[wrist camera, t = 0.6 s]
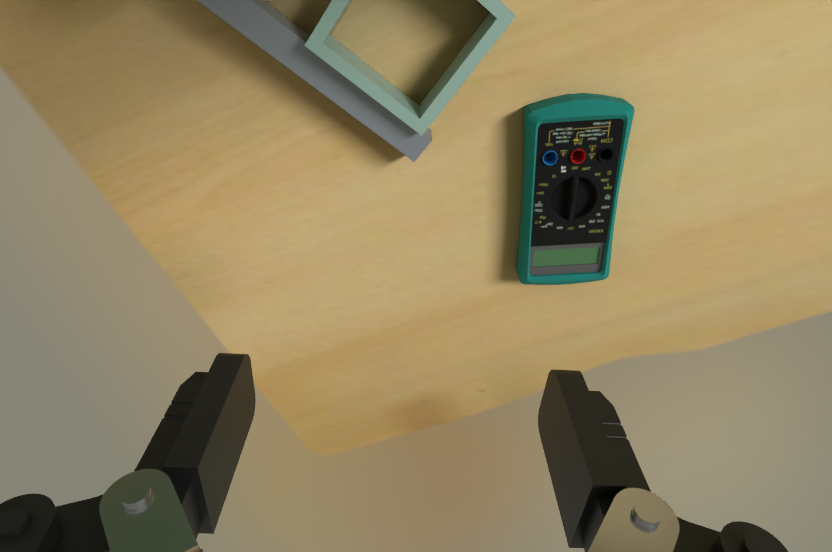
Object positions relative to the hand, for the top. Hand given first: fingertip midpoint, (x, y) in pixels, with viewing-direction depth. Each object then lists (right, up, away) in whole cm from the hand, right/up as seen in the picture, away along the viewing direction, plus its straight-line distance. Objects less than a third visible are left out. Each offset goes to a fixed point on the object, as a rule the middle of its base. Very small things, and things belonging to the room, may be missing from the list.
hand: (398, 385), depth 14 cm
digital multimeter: (+12, +10, +27) cm, 31 cm away
